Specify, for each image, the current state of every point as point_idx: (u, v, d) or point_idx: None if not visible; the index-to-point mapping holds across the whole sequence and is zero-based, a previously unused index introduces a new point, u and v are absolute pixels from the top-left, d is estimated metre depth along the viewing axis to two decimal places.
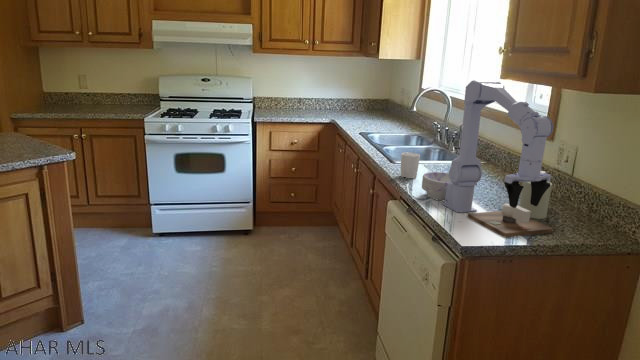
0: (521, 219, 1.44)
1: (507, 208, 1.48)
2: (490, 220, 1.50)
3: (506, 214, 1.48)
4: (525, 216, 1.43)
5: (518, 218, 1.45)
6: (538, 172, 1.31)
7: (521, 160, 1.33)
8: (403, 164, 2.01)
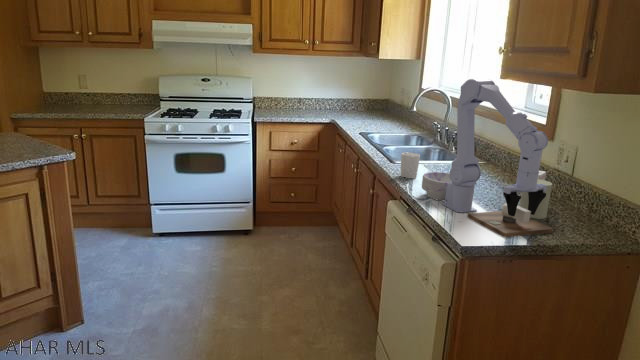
0: (521, 219, 1.44)
1: (507, 208, 1.48)
2: (490, 220, 1.50)
3: (506, 214, 1.48)
4: (525, 216, 1.43)
5: (518, 218, 1.45)
6: (535, 183, 1.40)
7: (519, 172, 1.42)
8: (403, 164, 2.01)
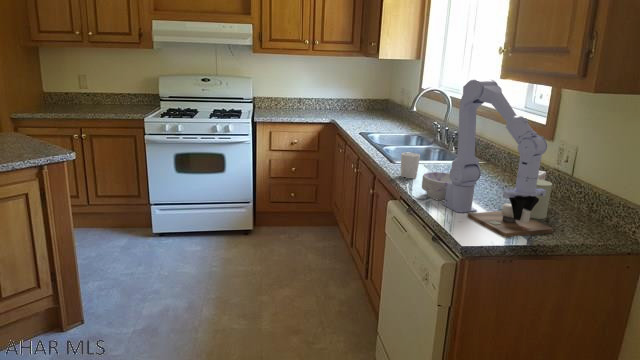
0: (521, 219, 1.44)
1: (507, 208, 1.48)
2: (490, 220, 1.50)
3: (506, 214, 1.48)
4: (525, 216, 1.43)
5: None
6: (534, 188, 1.41)
7: (518, 176, 1.42)
8: (403, 164, 2.01)
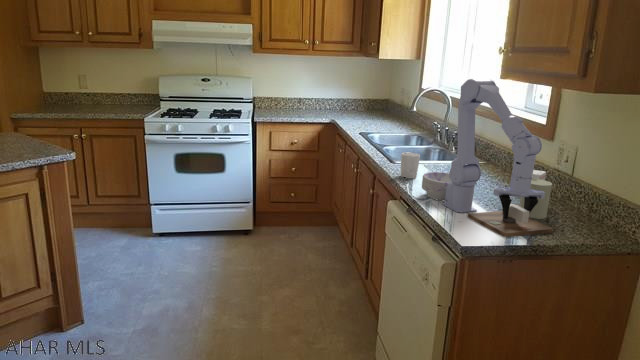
0: (520, 219, 1.44)
1: None
2: (490, 220, 1.50)
3: None
4: (523, 216, 1.43)
5: (517, 218, 1.45)
6: (525, 188, 1.40)
7: None
8: (403, 164, 2.01)
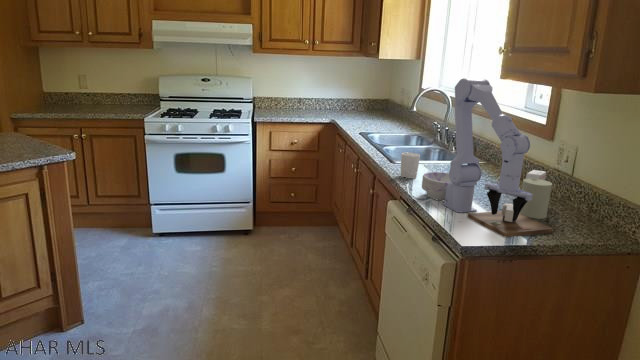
0: None
1: (503, 206, 1.49)
2: (490, 220, 1.50)
3: (502, 212, 1.50)
4: (506, 214, 1.44)
5: None
6: (506, 185, 1.42)
7: None
8: (403, 164, 2.01)
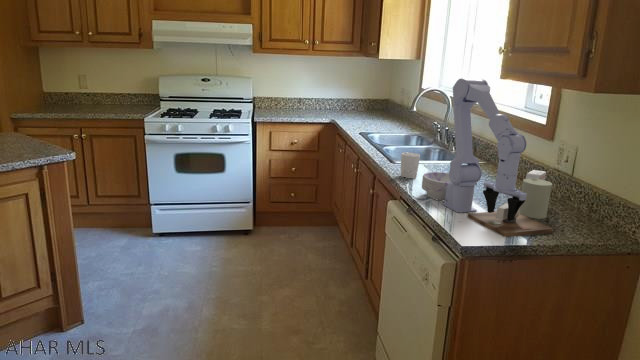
0: None
1: None
2: (490, 220, 1.50)
3: None
4: (497, 212, 1.45)
5: None
6: (500, 184, 1.43)
7: None
8: (403, 164, 2.01)
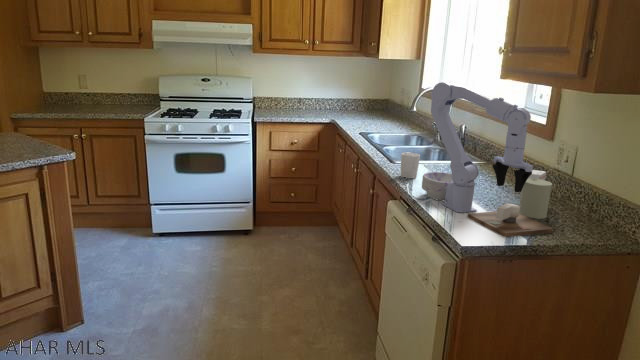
0: None
1: None
2: (490, 220, 1.50)
3: None
4: (497, 212, 1.45)
5: None
6: (508, 157, 1.49)
7: None
8: (403, 164, 2.01)
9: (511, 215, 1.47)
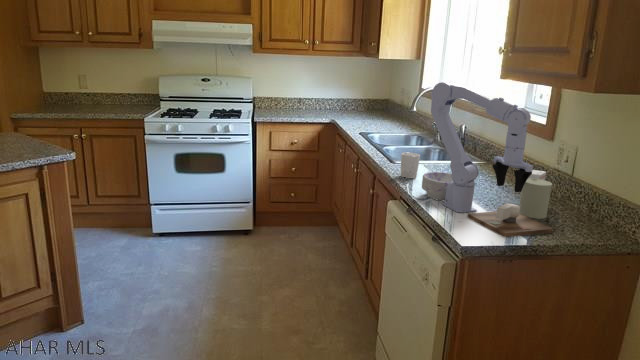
0: None
1: None
2: (490, 220, 1.50)
3: None
4: (497, 212, 1.45)
5: None
6: (508, 157, 1.49)
7: None
8: (403, 164, 2.01)
9: (511, 215, 1.47)
